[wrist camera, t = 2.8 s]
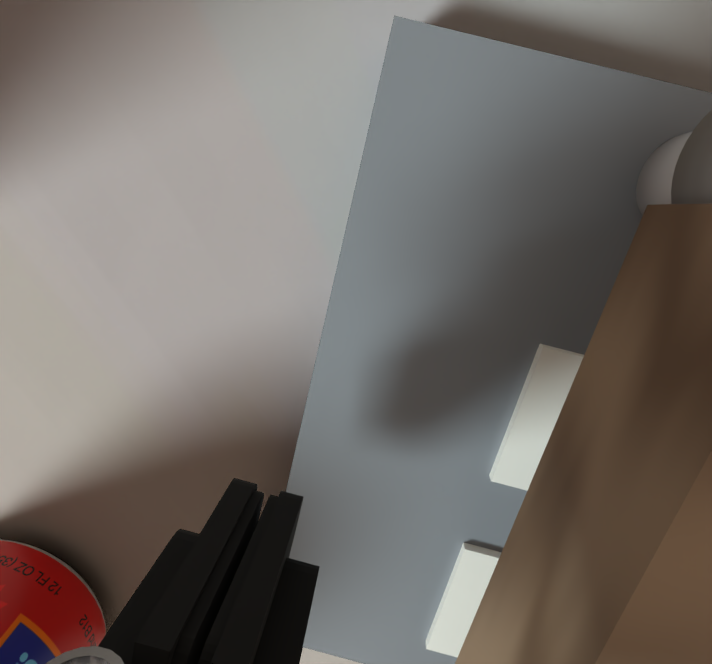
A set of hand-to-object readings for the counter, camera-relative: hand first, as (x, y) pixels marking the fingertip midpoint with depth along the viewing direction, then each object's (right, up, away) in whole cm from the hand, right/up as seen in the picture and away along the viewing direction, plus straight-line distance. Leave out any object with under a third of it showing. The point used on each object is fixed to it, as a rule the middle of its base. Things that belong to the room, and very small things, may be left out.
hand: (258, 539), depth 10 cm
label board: (+9, +2, +5) cm, 10 cm away
